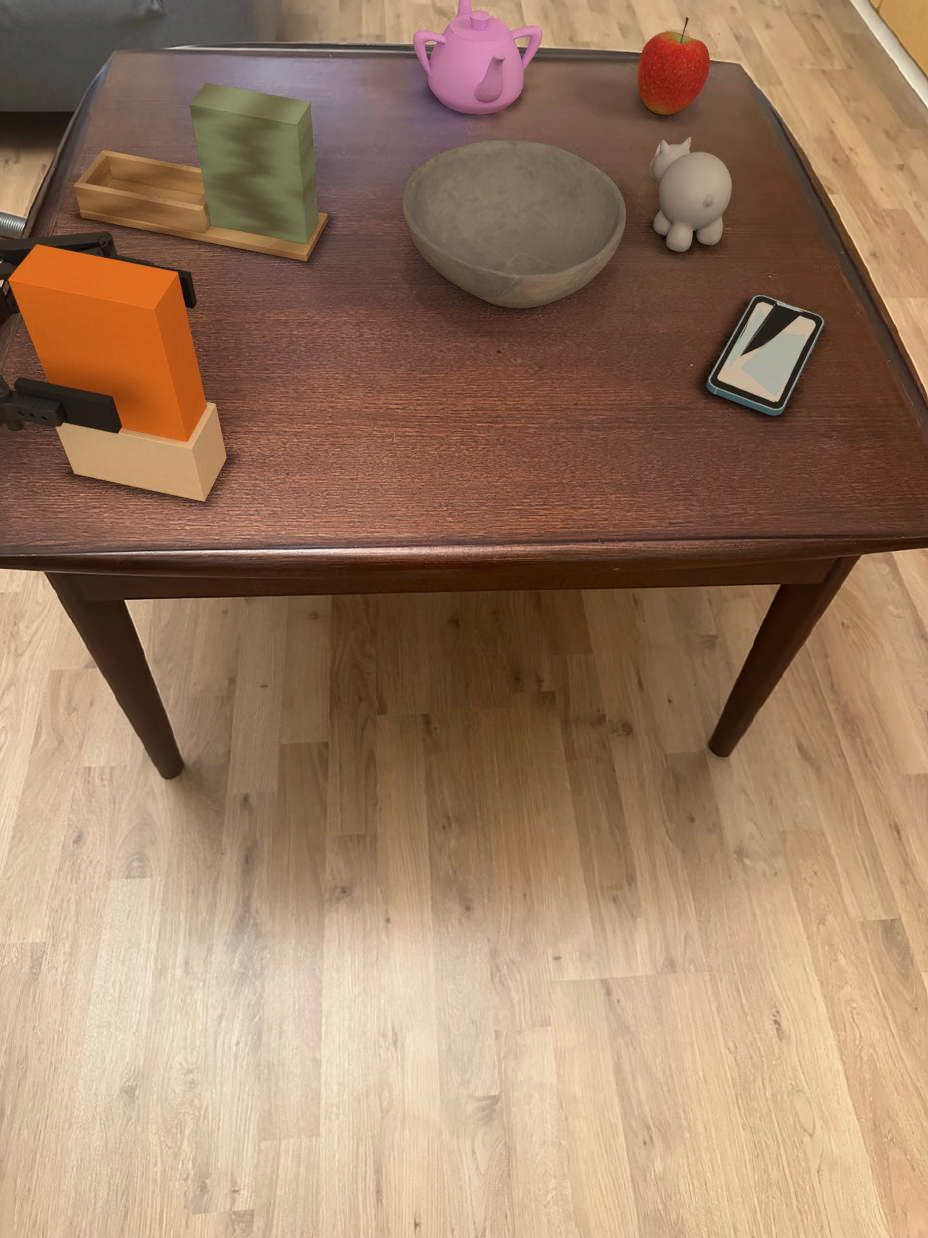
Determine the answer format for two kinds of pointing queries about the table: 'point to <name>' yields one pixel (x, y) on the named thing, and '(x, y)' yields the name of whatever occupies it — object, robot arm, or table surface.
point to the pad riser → (150, 457)
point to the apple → (672, 71)
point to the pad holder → (221, 178)
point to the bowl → (514, 220)
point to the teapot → (476, 61)
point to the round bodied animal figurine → (689, 194)
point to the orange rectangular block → (114, 336)
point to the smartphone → (765, 355)
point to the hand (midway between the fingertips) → (156, 349)
